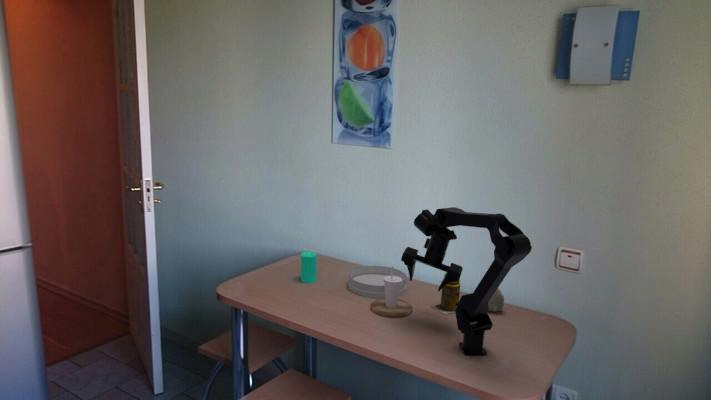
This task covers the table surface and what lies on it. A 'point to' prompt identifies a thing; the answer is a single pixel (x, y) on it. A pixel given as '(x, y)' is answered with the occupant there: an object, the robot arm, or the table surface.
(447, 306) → the condiment
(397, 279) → the smoothie
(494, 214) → the robot arm
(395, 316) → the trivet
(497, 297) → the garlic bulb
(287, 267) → the table surface
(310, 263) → the candle
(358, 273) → the dish
